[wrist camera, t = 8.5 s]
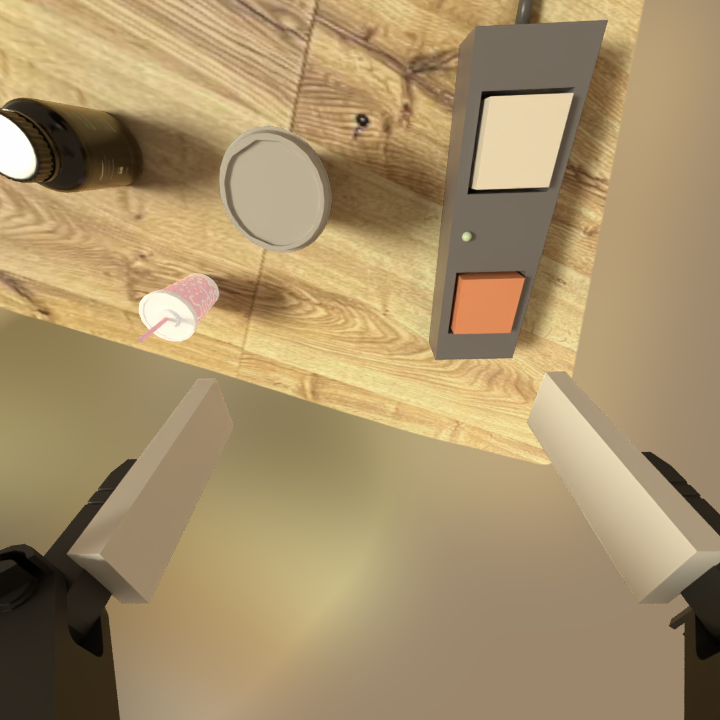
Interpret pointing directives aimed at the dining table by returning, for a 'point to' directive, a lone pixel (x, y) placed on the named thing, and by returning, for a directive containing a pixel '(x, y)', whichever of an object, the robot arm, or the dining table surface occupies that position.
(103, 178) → the supplement bottle
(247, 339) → the dining table surface
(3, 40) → the dining table surface
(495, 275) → the button orange
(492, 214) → the push button control box
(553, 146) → the button ivory
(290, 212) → the disposable coffee cup
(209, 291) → the beverage cup
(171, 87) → the dining table surface
